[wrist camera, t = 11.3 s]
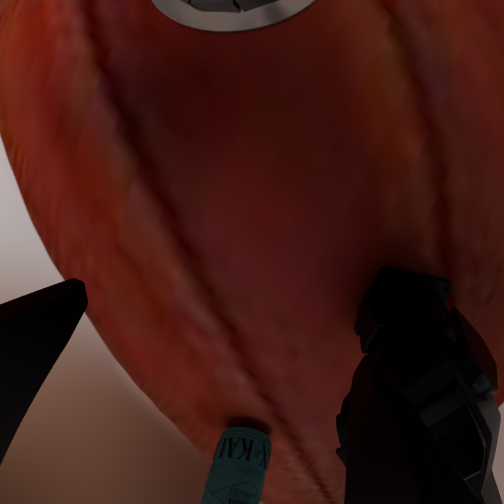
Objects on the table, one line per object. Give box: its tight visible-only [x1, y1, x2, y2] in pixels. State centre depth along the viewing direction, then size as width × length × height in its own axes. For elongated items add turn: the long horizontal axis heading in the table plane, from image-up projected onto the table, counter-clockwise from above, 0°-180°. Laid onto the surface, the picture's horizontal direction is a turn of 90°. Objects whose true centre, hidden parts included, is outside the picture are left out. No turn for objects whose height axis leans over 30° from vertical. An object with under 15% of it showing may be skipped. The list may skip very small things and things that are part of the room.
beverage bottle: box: [200, 427, 272, 504], centre depth 25 cm, size 6×7×20 cm
